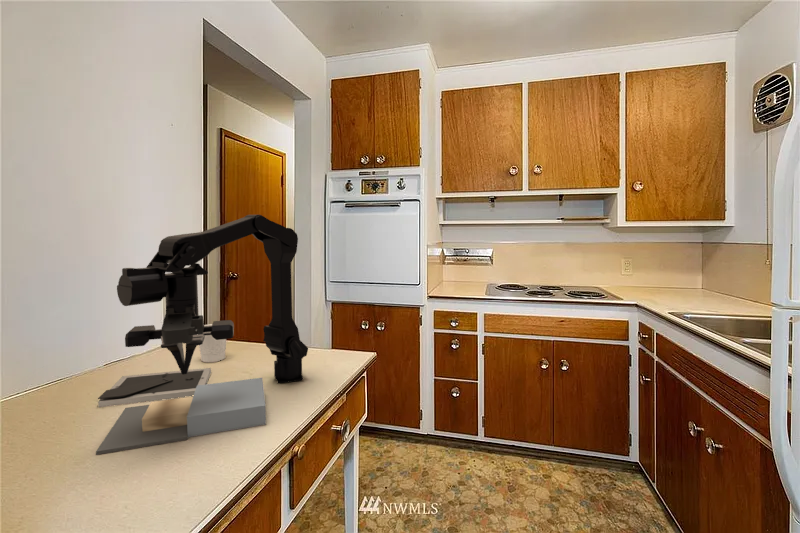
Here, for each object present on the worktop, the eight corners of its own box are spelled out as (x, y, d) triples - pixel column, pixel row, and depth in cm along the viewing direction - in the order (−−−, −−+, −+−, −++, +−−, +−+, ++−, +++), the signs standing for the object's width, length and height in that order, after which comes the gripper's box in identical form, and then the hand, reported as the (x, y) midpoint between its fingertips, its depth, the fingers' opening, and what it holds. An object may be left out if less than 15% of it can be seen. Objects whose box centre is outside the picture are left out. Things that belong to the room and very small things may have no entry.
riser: (262, 393, 94) (262, 377, 93) (265, 424, 79) (265, 405, 79) (197, 402, 89) (196, 385, 88) (187, 437, 74) (186, 416, 73)
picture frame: (98, 410, 86) (203, 398, 93) (97, 398, 86) (202, 386, 93) (122, 383, 101) (211, 375, 108) (122, 373, 100) (211, 365, 107)
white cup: (220, 363, 115) (218, 330, 114) (193, 363, 115) (192, 329, 114) (231, 355, 123) (231, 323, 122) (207, 354, 123) (205, 323, 122)
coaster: (194, 407, 85) (194, 396, 85) (189, 424, 77) (189, 412, 77) (151, 413, 82) (151, 402, 82) (142, 431, 74) (141, 419, 74)
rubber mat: (198, 400, 90) (197, 398, 89) (187, 439, 73) (186, 436, 73) (125, 410, 84) (125, 407, 84) (96, 454, 68) (95, 451, 68)
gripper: (113, 308, 68) (118, 395, 69) (231, 302, 74) (233, 382, 76) (131, 298, 78) (135, 374, 79) (232, 294, 85) (234, 364, 86)
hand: (184, 373), depth 80 cm, fingers closed
